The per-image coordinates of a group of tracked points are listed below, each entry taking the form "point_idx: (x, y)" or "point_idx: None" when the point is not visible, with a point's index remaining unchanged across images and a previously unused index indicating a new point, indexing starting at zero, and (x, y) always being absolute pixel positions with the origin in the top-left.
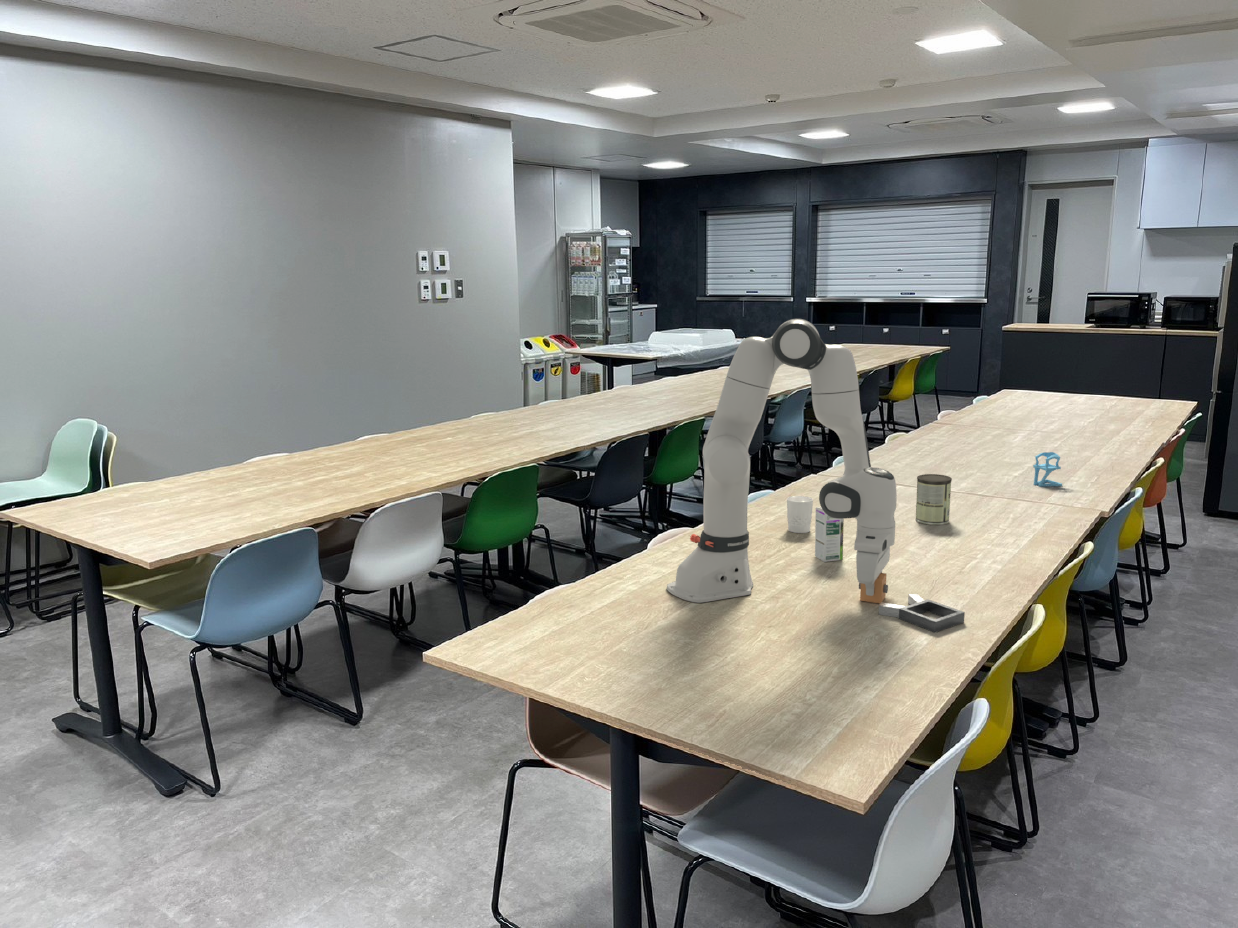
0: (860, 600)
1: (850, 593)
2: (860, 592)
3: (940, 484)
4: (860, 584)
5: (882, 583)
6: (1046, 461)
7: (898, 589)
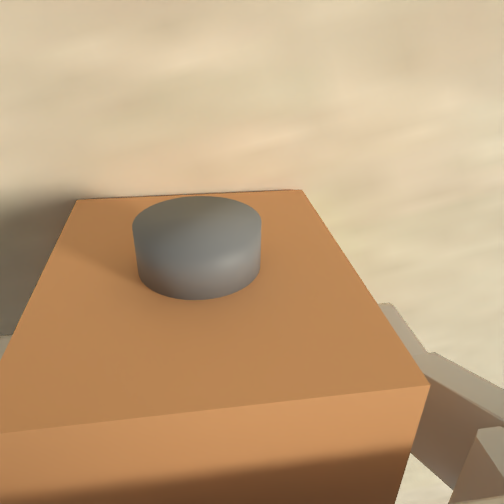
0: (79, 203)
1: (280, 27)
2: (56, 245)
3: None
4: (142, 260)
5: None
6: None
7: (493, 368)
